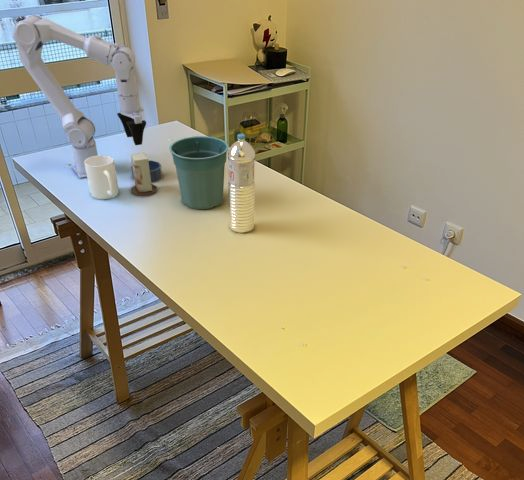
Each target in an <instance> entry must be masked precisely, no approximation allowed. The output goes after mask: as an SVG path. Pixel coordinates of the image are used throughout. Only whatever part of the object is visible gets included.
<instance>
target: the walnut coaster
mask: <svg viewBox="0 0 524 480" xmlns="http://www.w3.org/2000/svg"><path fill="white" fill-rule="evenodd" d="M151 184H152V191H147V192H140V193H139V192H138V191H137V189H136V186H135V185H133V186H132V187H130V193H131V194H132V195H133V196H136V197H150V196H153V195H155V194H156V193H158V187H157V186H156V185H155V184H153V183H151Z"/></svg>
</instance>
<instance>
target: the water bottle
mask: <svg viewBox="0 0 524 480" xmlns="http://www.w3.org/2000/svg"><path fill="white" fill-rule="evenodd" d="M236 139H237V140H236V141H235V142H233V144H232V145H230V146H229V148H228V151H227V160H228V161H227V162H228V183H227V184H228V207H229V208H228V217H229V218H228V219H229V227H230V230H232V231H233V232H235V233H239V234H241V233H242V234H243V233H244V234H245V233H248V232H252V231H253V230H254V228H255V223H256V222H255V220H256V219H255V213H256V212H255V211H256V210H255V209H256V208H255V206H256V205H255V204H256V203H255V199H256V197H255V196H256V190H255V188H256V182H255V158H256V150H255V149H254V147H253V146H252V145H251V144H250V143H249V142H247V141H246V135H245V133H238V134H237V137H236Z"/></svg>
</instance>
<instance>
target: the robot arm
mask: <svg viewBox="0 0 524 480" xmlns="http://www.w3.org/2000/svg"><path fill="white" fill-rule="evenodd" d="M12 38H13V41H14V42H15V43H16V44H15V45H16V48H17V52H18V57H19V61H20V63H21V64H22V66H23V67H24V68H25V69H26V71H27V72H28V74H29V75H30V76H31V78H32V79H33V81H34V82H35V84H36V85H37V86H38V88H39V89H40V91H41V92H42V94H43V95H44V96H45V98H46V99H47V101H48V102H49V103H50V105H51V106H52V107H53V109H54V110H55V112H56V113H57V114H58V116H59V118H60V119H61V126H62V129H63V131H64V132H65V134H66V138H67V140H68V142H69V144H70V145H71V151H72V155H73V160H74V163H75V165H73V166H72V169H73V170H74V171H75V174H77V176H78V178H79V179H83V178H87V173H86V168H85V163H84V161H85V160H86V159H87V158H89V157H93V156H99V154H98V149H97V144H96V140H95V138H94V135H95V134H96V126H95V124H94V122H93V121H92V120H91V119H90V118H88V117H87V116H86V115H85V114H84V113H83V112H82V111H81V110H79V109H78V108H77V107H76V106H75V105H74V104H73V102H72V101H71V99H70V98H69V96H68V95H67V93H66V92H65V90H64V89H63V87H62V86H61V84H60V83H59V81H58V80H57V79H56V77H55V76H54V74H53V73H52V72H51V70H50V69H49V67H48V66H47V64H46V62H44V60H43V58H42V53H43V46H44V44H45V43H48V42H52V41H57V42H58V43H59V42H60V43H62V44H65V45H67V46H70V47H73V48H77V49H79V50H82V51H83V52H84V54H85V55H86V56H87V57H88V58H90V59H92V60H95V61H97V62H99V63H101V64H104V65H107V66H109V67H111V68H112V69H113V71H114V74H115V81H116V82H115V83H116V89H117V96H118V103H119V112H117V113H116V115H117V117H118V118H119V120H120V122H121V125H122V127H123V130H124V133H125V135H126V137H127V138H132V141H133V144H134V146H140V145H143V140H144V132H145V129H146V125H147V121H146V119H144V120H143V119H142V112H144V111H145V109H144V107H142V106H140V99H139V92H138V84H137V76H136V71H135V66H134V65H135V63H136V55H135V53H134V51H133V50H132V49H131V48H130V47H128V46H127V45H125V44H123V45H119V43H117V42H114V43H112V42H110V41H108V40H105V39H103V37H102V36H101V35H100V34H96V35H94V34H93V35H90V36H89V37H87V36H84V35H82V34H80V33H78V32H75V31H73V30H71V29H69V28H67V27H65V26H63V25H61V24H59V23H56V22H54V21H53V20H51V19H49V18H47V17H41V16H40V15H37V14H31V15H29V16H28V17H26V18H25V19H23V20H19V21H18V22H17V23H15V25H14V29H13V35H12Z"/></svg>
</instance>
